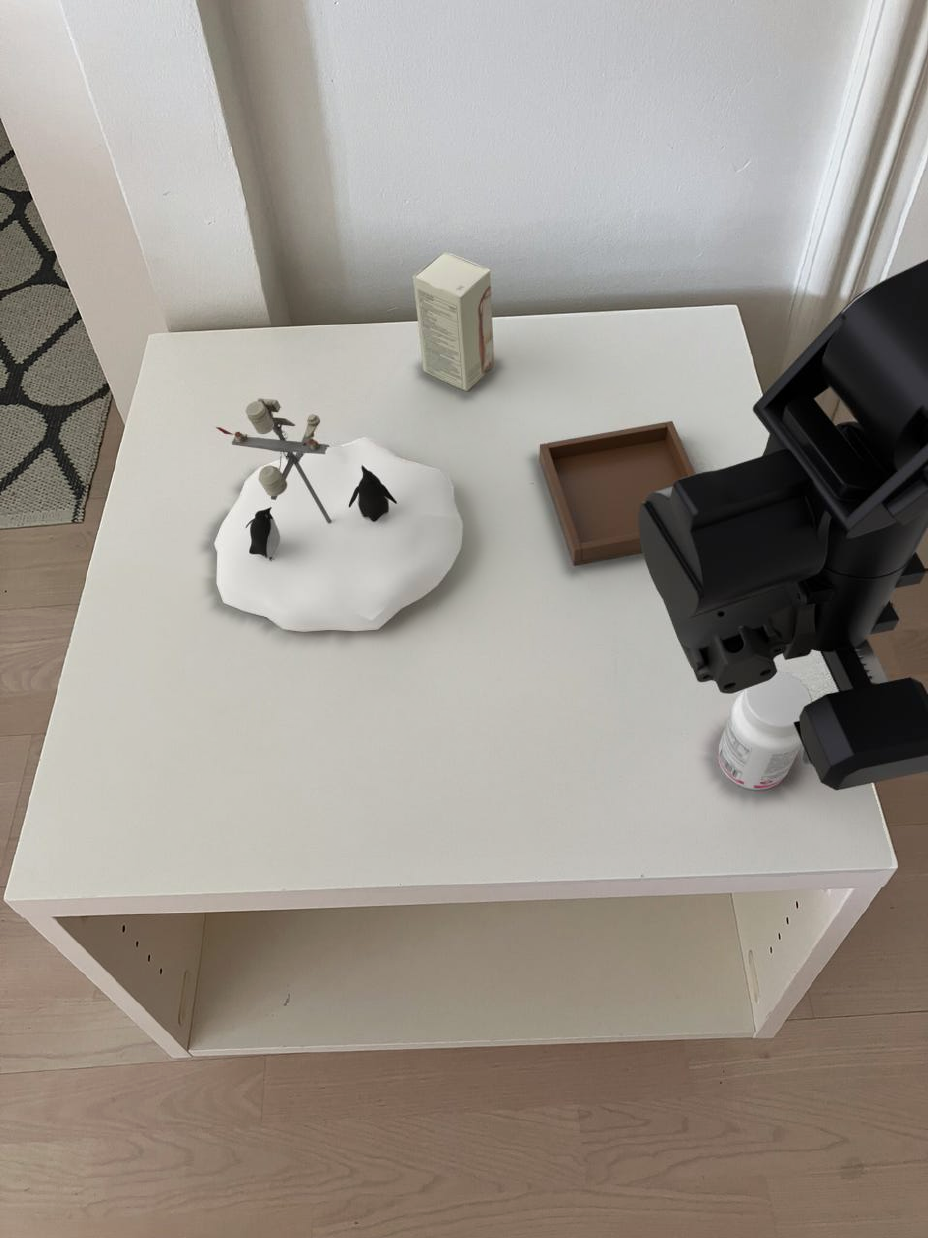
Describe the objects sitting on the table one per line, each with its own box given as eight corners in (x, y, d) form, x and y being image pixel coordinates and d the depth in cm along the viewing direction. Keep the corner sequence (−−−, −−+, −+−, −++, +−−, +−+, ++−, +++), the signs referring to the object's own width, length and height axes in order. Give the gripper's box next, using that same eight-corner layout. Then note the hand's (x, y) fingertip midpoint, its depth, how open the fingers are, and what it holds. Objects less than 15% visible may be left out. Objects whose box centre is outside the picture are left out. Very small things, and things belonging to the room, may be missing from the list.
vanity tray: (669, 436, 85) (672, 420, 84) (713, 539, 79) (717, 524, 78) (539, 459, 84) (539, 443, 83) (573, 565, 78) (574, 550, 77)
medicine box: (496, 364, 91) (494, 270, 83) (466, 393, 89) (461, 299, 81) (450, 342, 93) (443, 247, 84) (420, 370, 91) (410, 276, 83)
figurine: (465, 442, 84) (432, 282, 71) (464, 629, 74) (424, 485, 61) (233, 464, 87) (158, 313, 73) (201, 647, 77) (108, 513, 63)
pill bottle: (792, 736, 70) (823, 673, 63) (784, 799, 67) (816, 740, 60) (721, 720, 70) (744, 656, 63) (711, 782, 68) (734, 722, 61)
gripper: (633, 420, 53) (610, 593, 66) (761, 735, 43) (704, 866, 56) (838, 383, 54) (775, 561, 67) (1012, 684, 43) (898, 825, 56)
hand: (782, 692), depth 61 cm, fingers open, 9 cm apart
